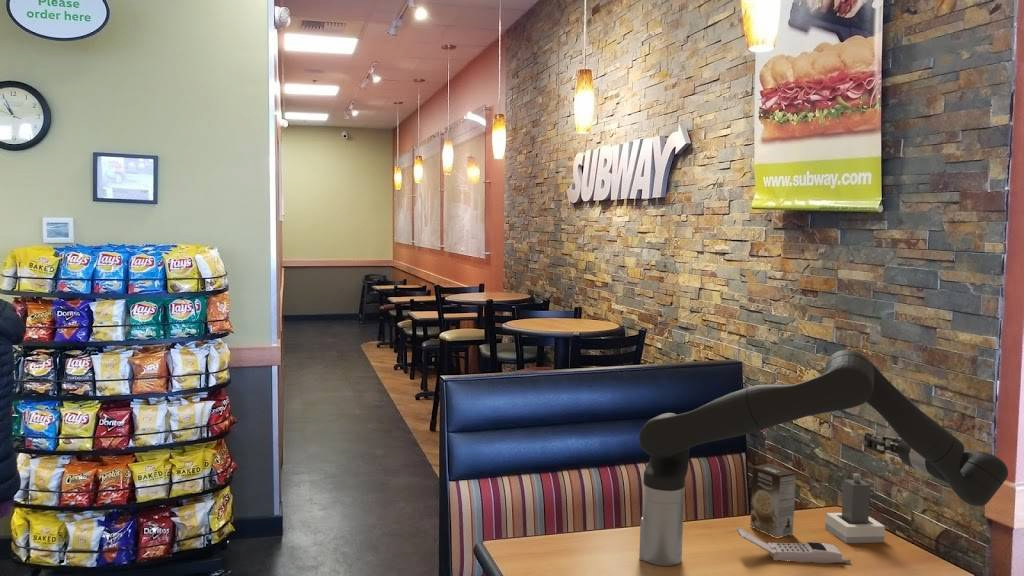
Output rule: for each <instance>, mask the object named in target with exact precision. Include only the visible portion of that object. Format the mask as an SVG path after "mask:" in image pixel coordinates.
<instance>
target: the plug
mask: <svg viewBox="0 0 1024 576" xmlns="http://www.w3.org/2000/svg"><path fill="white" fill-rule="evenodd" d="M870 494H871V485H870V484H869V483H867V482H865V481H864V480H862V478H861V474H860V473H853V479H843V486H842V501H841V502H842V504H841V505H842V508H841V513H842V520H844V521H845V522H847V523H848V524H868V520H869V517H870V498H871V497H870V496H871V495H870Z"/></svg>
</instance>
